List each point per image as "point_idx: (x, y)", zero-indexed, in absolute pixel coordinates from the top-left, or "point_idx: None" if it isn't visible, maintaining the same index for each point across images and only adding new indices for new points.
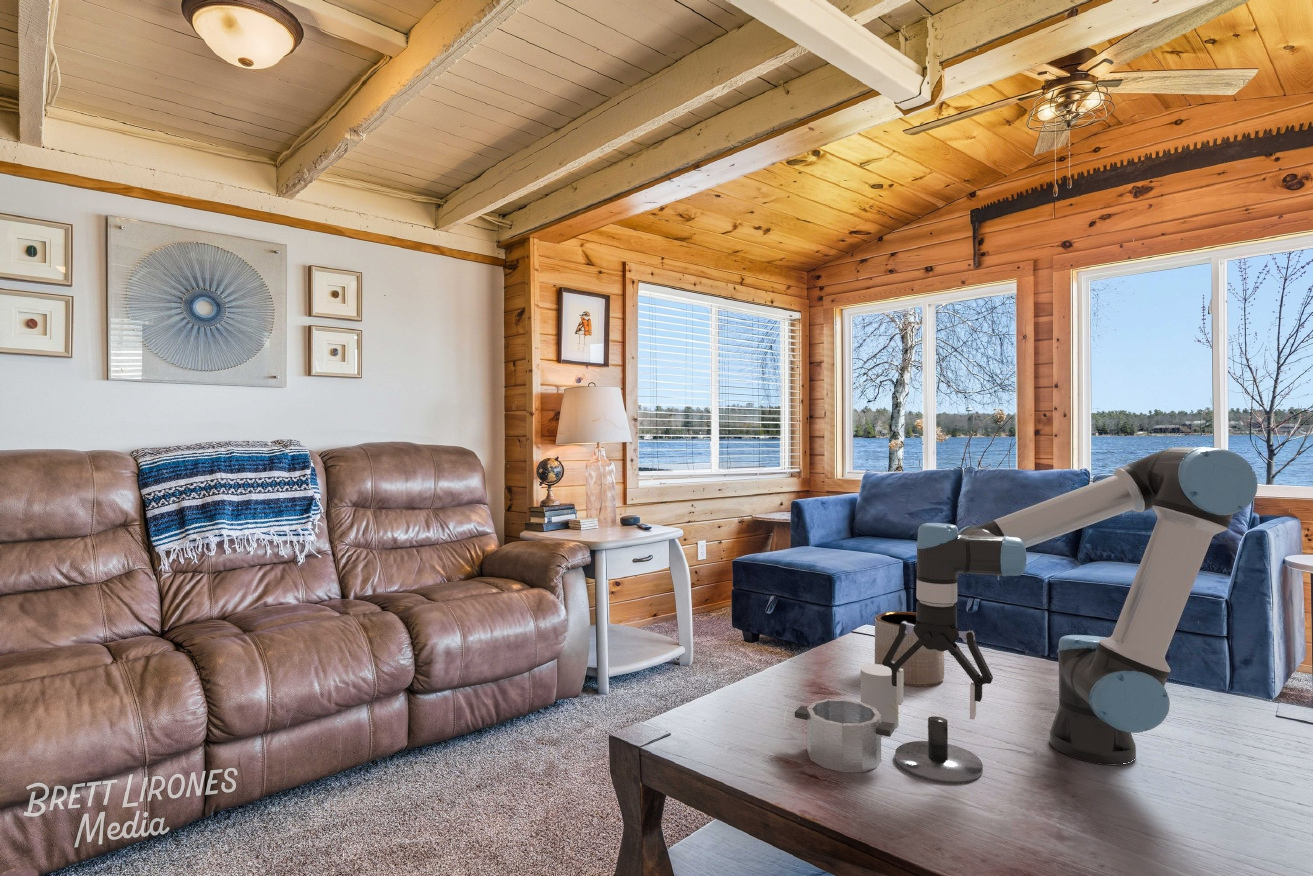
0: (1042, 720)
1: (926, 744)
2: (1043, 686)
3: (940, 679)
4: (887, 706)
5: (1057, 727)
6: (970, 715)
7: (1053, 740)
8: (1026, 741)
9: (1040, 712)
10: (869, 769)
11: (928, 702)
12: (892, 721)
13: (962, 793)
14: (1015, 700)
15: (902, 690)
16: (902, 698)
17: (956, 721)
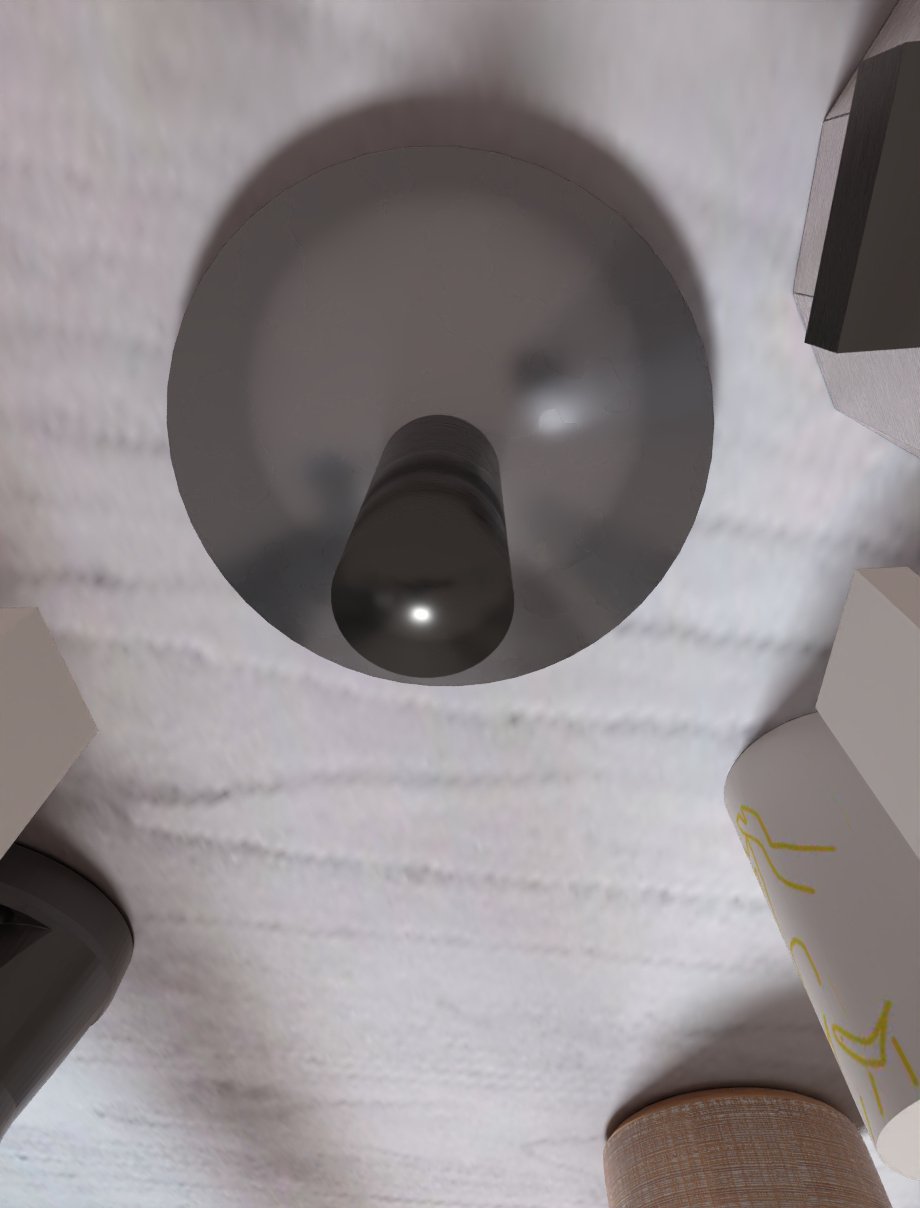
0: (225, 1032)
1: (545, 622)
2: (318, 1187)
3: (611, 1146)
4: (841, 835)
5: (17, 967)
6: (5, 632)
7: (69, 905)
8: (193, 884)
9: (255, 1071)
10: (885, 27)
11: (625, 1013)
12: (767, 778)
13: (159, 66)
14: (354, 1108)
15: (913, 777)
16: (849, 701)
17: (487, 925)
